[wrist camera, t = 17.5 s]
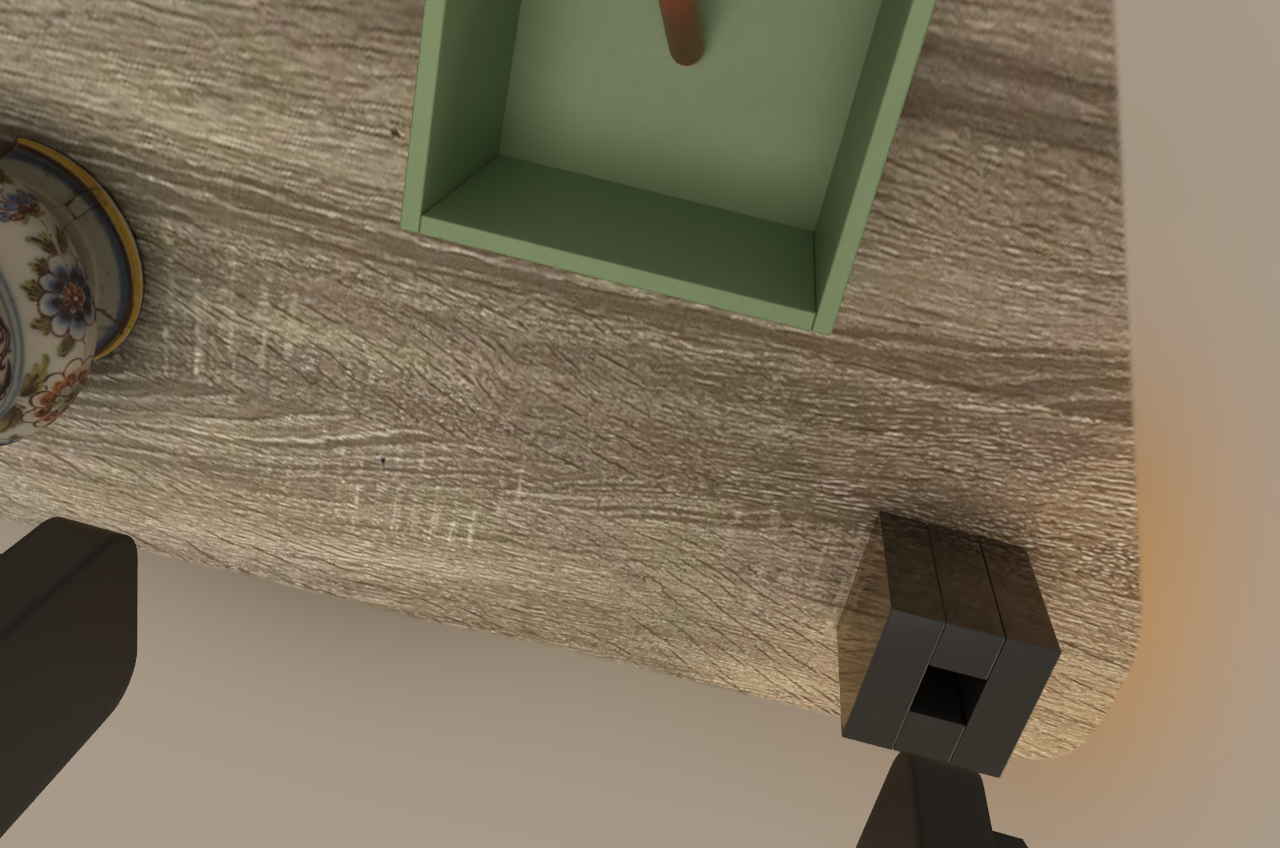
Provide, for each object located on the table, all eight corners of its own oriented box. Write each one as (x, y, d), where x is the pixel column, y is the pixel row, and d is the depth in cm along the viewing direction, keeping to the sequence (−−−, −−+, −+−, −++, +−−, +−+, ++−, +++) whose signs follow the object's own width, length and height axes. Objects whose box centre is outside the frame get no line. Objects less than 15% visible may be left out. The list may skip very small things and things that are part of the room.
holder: (1025, 548, 44) (1062, 652, 38) (974, 663, 47) (1000, 778, 41) (879, 511, 44) (891, 608, 38) (836, 627, 47) (841, 737, 41)
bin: (922, -78, 35) (960, -75, 26) (825, 246, 40) (831, 337, 31) (532, -170, 35) (445, -196, 27) (485, 162, 40) (399, 229, 32)
